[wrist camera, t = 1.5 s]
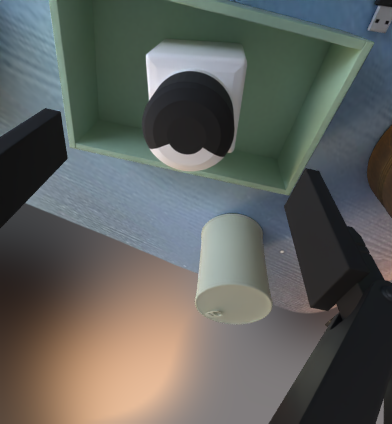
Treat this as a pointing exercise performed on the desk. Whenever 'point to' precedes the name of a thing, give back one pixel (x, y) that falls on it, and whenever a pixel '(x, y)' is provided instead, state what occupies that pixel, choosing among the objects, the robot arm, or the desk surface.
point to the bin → (215, 32)
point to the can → (233, 271)
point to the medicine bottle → (193, 101)
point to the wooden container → (382, 170)
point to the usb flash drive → (381, 16)
